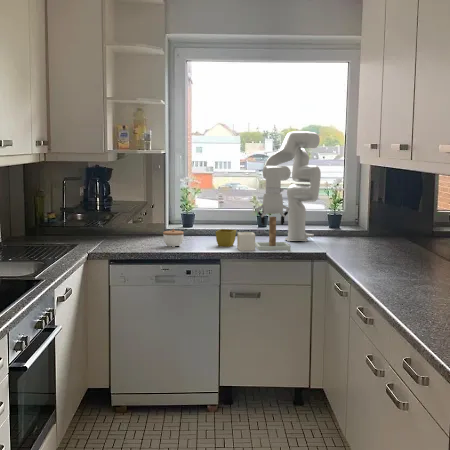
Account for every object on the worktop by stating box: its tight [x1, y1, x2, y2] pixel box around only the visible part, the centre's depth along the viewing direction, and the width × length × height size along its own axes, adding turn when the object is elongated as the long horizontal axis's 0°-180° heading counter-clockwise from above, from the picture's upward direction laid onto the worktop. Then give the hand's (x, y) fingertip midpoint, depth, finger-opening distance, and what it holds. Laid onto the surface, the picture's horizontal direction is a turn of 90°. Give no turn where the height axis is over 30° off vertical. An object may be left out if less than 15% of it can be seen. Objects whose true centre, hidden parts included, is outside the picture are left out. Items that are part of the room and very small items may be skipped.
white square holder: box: [236, 231, 256, 252], centre depth 321 cm, size 8×8×9 cm
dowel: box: [268, 216, 277, 246], centre depth 326 cm, size 3×3×16 cm
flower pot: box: [215, 228, 237, 248], centre depth 332 cm, size 9×9×9 cm
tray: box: [255, 241, 292, 252], centre depth 327 cm, size 16×14×3 cm
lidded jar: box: [162, 228, 185, 248], centre depth 335 cm, size 11×11×9 cm
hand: (272, 224), depth 325 cm, fingers open, 9 cm apart
